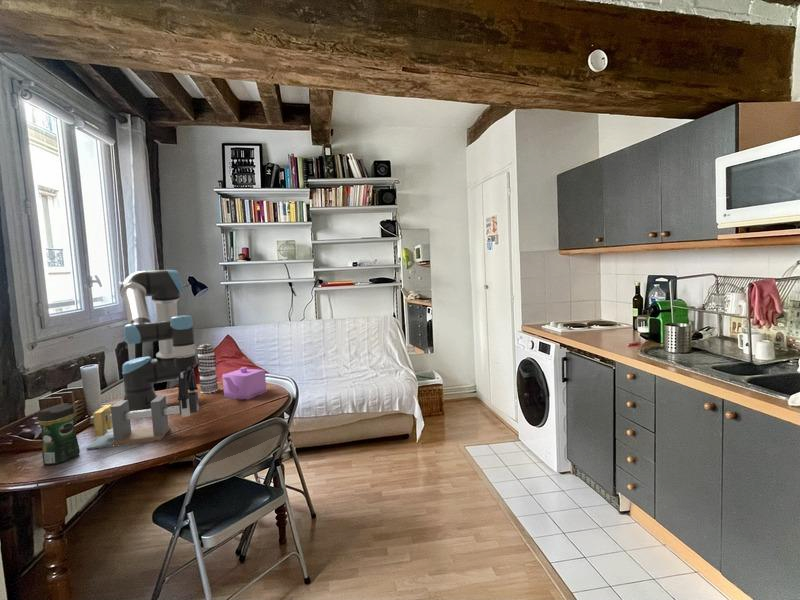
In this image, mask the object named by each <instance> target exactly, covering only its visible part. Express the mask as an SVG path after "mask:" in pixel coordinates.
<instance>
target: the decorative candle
mask: <svg viewBox="0 0 800 600" xmlns="http://www.w3.org/2000/svg"><path fill="white" fill-rule="evenodd" d="M214 347H215V346H214V345H213V344H211V343H202V344H200V345H198V346H197V348H196V349H197V356H196V363H197V366H198V368H197V369H198V371H199V380H198V381H199V388H200V394H201V393H209V394H212V393H211V392H214V393H216V392H215V391H217V390H218V391H219V389H218V388H219V386H218V385H219V384H218V377H217V372H216V369H217V364H216V363H217V362H216V360H217V358H216V357H217V355H216V354H215V352H214V351H215V348H214ZM218 391H217V392H218Z"/></svg>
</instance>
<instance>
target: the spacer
mask: <svg viewBox="0 0 800 600" xmlns="http://www.w3.org/2000/svg"><path fill="white" fill-rule="evenodd" d="M113 405H114V404H112V403H111V404H105V405H103V406H102V407H100V408H99V409H98V410H96V411H95V412H93V413H92V416H93V418H94V424H93V427H94V434H95V435H94V436H95V437H96V438H97V437H100V436H104V435H107V433H108V430H113V425H112V422H106V416H107V415H108V414H111V406H113Z"/></svg>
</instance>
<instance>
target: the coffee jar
mask: <svg viewBox="0 0 800 600" xmlns="http://www.w3.org/2000/svg"><path fill="white" fill-rule="evenodd" d="M75 411H76V410H75V408H74V405H73V404H72V403H67V402H66V403H60V404H57V405H53V406H50V407H46V408H44V409H41V410H39V411H38V412H37V424H38V425H39V426H40V429H41V436H42V437H41V439H42V442H41V443H42V447H41V449H42V450H41V451H42V453H41V454H42V456H41V457H42V463H43V464H45V465H47V464H52V465H57V464H58V463H59V464H61V462H62V463H64V461H65V462H67V461H69V460H71V459H73V458H75V457H77V456H79V455H80V453H81V451H80V445H79V441H78V437H77V433H76V429H75V417H76V412H75ZM66 460H67V461H66Z"/></svg>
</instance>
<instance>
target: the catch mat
mask: <svg viewBox="0 0 800 600" xmlns="http://www.w3.org/2000/svg"><path fill="white" fill-rule="evenodd" d="M115 441H116V440H115ZM113 442H114V435H113V433H112V434H105V435H104V436H98V438H97V439H96V440H94V441H93V442H92V443H90V445H89V446H86V450H87V449H92V450H96V449H95V448H99V449H104V448H103V447H106V448H111V447H110V446H113V445H114V443H113ZM113 447H114V446H113Z"/></svg>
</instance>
